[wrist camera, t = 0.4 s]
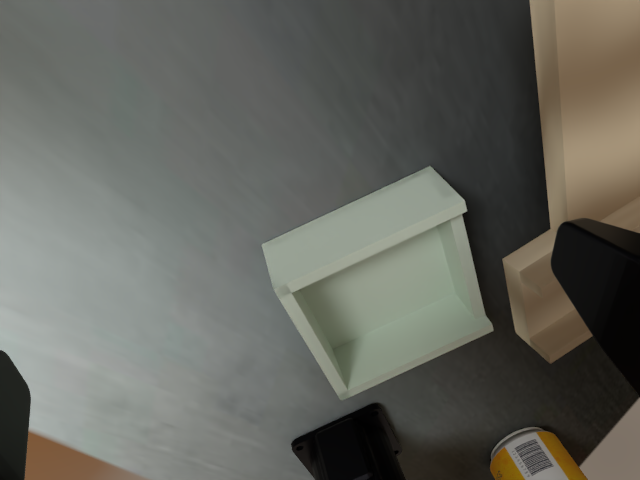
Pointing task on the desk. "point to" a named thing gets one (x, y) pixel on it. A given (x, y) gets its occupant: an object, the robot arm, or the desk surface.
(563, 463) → the beer can
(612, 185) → the lever
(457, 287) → the tray
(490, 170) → the desk surface
